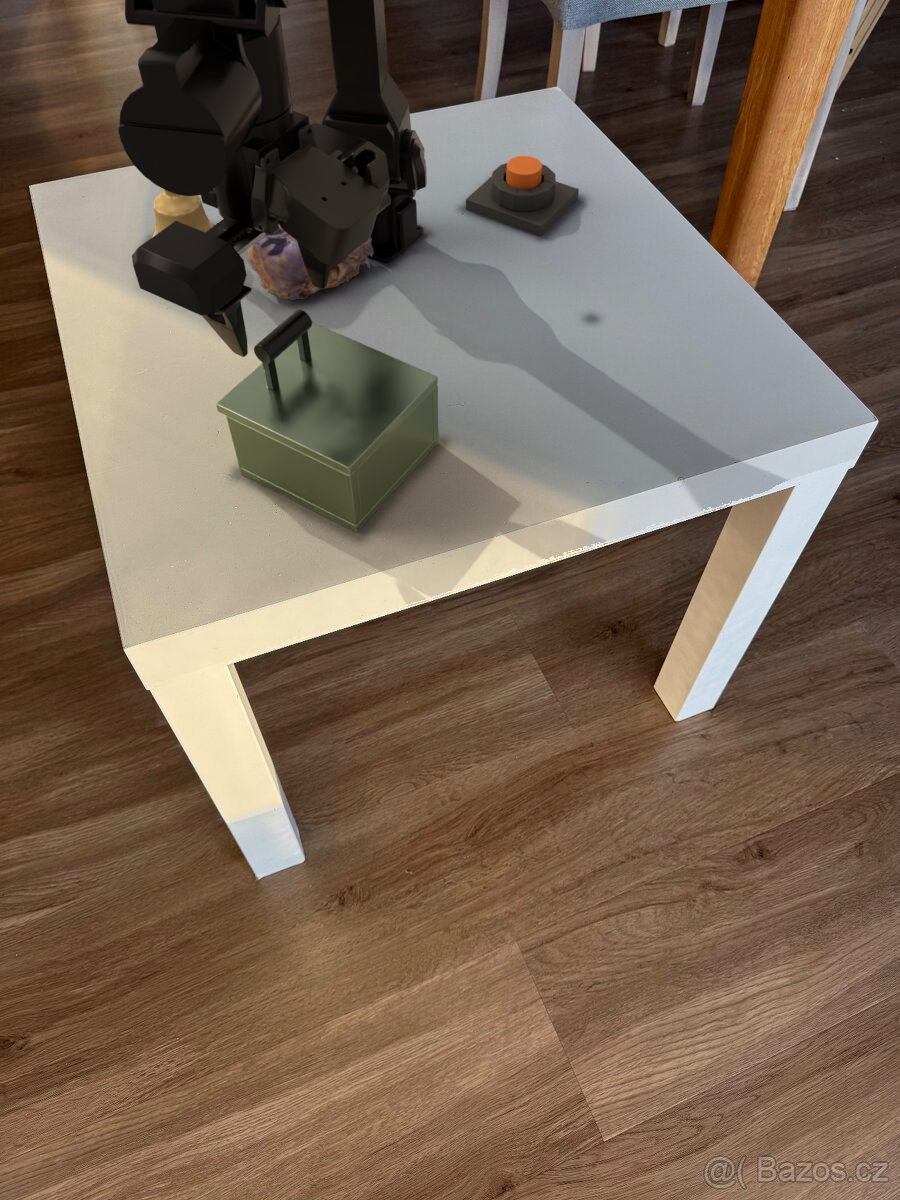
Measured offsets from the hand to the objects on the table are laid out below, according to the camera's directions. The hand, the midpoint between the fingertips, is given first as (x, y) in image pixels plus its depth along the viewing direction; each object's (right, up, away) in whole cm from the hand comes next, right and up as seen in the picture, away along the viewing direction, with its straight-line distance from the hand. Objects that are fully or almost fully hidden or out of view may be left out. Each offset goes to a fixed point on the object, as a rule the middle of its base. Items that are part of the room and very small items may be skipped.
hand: (281, 319), depth 69 cm
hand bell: (-14, +14, +25) cm, 32 cm away
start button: (+20, +22, +28) cm, 41 cm away
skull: (-1, +11, +23) cm, 25 cm away
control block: (+20, +21, +30) cm, 42 cm away
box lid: (+3, -5, +3) cm, 7 cm away
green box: (+3, -9, +8) cm, 13 cm away
